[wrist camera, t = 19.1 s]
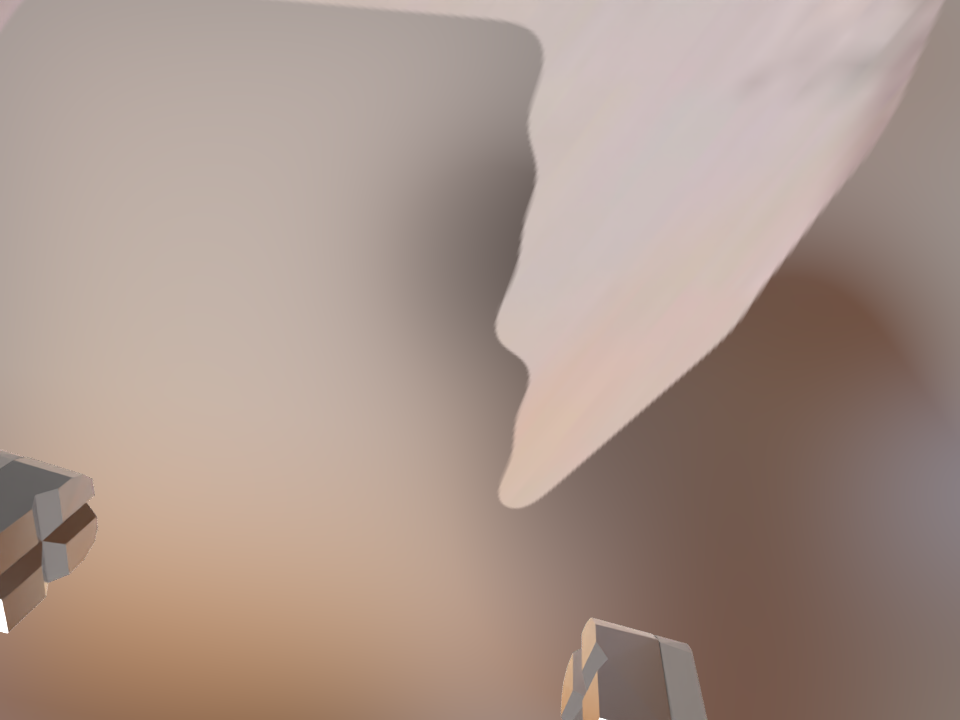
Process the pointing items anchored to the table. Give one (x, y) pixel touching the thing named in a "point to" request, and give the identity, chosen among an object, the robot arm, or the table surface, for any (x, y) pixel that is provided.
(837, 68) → the table surface
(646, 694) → the robot arm
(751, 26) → the table surface
